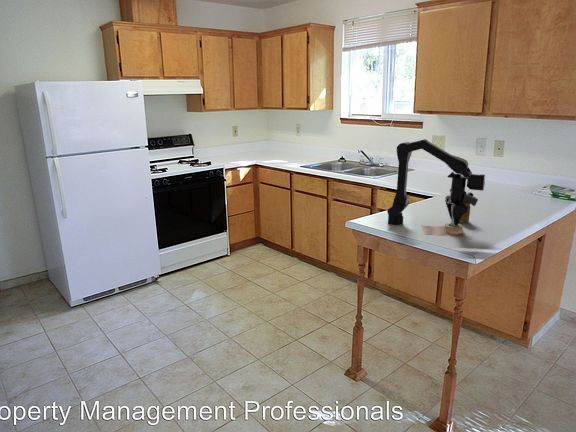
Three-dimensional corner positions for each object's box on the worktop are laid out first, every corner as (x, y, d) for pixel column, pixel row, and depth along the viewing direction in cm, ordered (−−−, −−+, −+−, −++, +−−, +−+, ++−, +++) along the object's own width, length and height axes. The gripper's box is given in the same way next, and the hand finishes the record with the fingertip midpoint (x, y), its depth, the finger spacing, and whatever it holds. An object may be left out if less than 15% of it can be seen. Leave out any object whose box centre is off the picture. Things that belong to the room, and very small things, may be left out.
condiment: (457, 221, 213) (460, 197, 210) (475, 224, 207) (478, 200, 204) (451, 224, 208) (454, 200, 205) (469, 228, 202) (472, 203, 199)
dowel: (450, 232, 192) (453, 211, 189) (449, 230, 195) (452, 209, 192) (456, 232, 192) (460, 211, 189) (455, 230, 194) (459, 209, 191)
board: (424, 237, 190) (425, 234, 190) (420, 228, 202) (421, 225, 202) (467, 239, 187) (467, 236, 187) (460, 229, 200) (461, 227, 199)
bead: (446, 233, 191) (447, 227, 190) (443, 228, 197) (444, 222, 196) (462, 234, 190) (463, 228, 189) (459, 229, 196) (460, 223, 195)
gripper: (483, 193, 178) (478, 229, 182) (472, 184, 195) (468, 217, 200) (455, 192, 179) (451, 228, 184) (446, 183, 197) (443, 216, 201)
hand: (454, 222), depth 192 cm, fingers open, 9 cm apart
